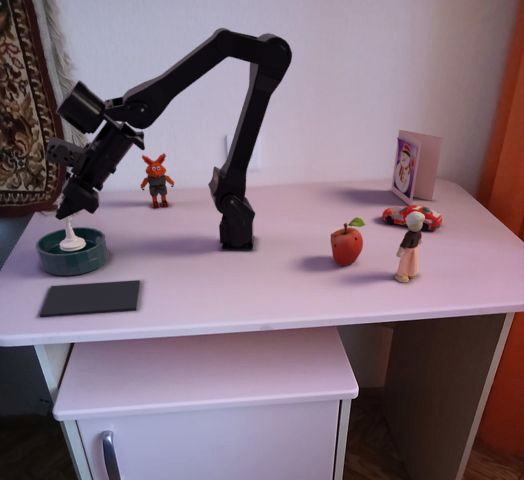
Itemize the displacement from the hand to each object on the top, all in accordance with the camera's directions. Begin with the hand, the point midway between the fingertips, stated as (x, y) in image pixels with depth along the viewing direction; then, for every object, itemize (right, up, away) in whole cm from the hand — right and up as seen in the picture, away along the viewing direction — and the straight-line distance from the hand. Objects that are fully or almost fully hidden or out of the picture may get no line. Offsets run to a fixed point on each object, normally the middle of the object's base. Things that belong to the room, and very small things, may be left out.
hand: (58, 216), depth 102 cm
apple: (+55, -8, +4) cm, 56 cm away
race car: (+72, +3, +19) cm, 75 cm away
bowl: (+1, -8, +6) cm, 10 cm away
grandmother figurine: (+66, -12, 0) cm, 67 cm away
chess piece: (+1, -5, +4) cm, 7 cm away
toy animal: (+14, +10, +30) cm, 34 cm away
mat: (+9, -16, -6) cm, 19 cm away
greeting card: (+76, +13, +33) cm, 84 cm away
